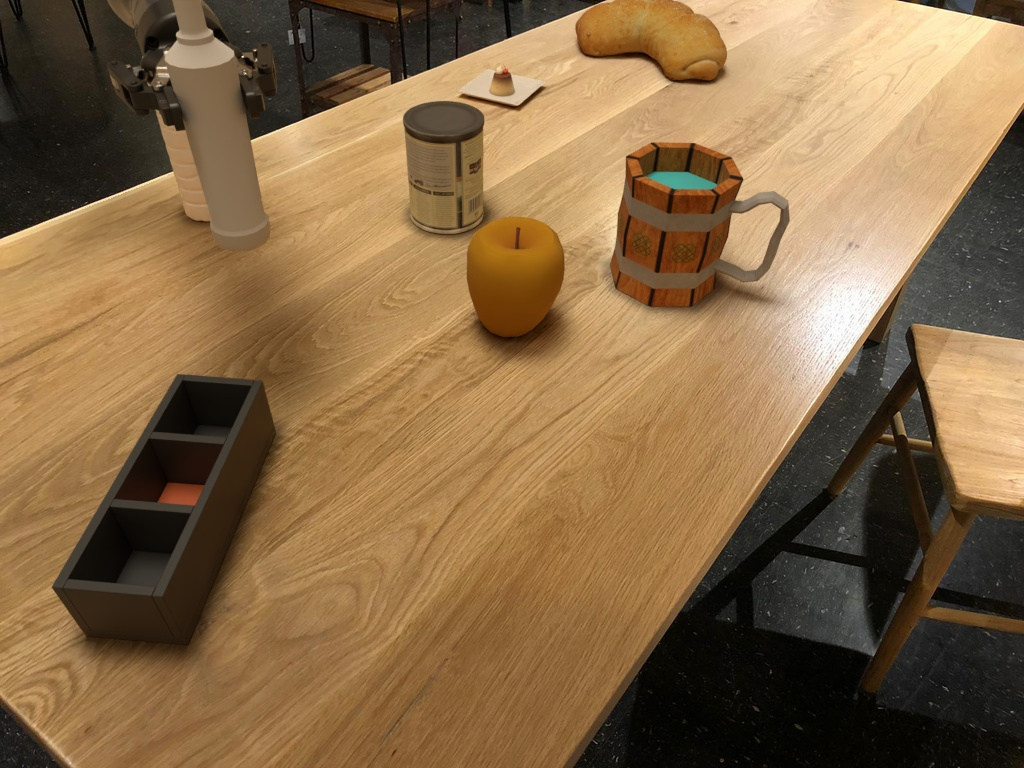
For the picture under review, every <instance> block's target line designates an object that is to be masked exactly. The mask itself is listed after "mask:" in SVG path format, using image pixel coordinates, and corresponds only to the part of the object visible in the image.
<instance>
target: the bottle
mask: <svg viewBox="0 0 1024 768" xmlns="http://www.w3.org/2000/svg"><path fill="white" fill-rule="evenodd" d="M172 1H173V5H174V9H175V13H176V17H177V21H178V25H179V31H178V32H177V33H176V37H177V41H176V42H175V43H174V45H173V46H172V47H171V49H170V50H169V51H168V52H167V54H166V55H165V63H166V66H167V70H168V73H169V77H170V80H171V83H172V87H173V90H174V94H175V96H176V99H177V101H178V104H179V107H180V111H181V115H182V118H183V122H184V126H185V131H186V134H187V138H188V141H189V145H190V148H191V152H192V155H193V158H194V162H195V165H196V169H197V172H198V175H199V179H200V182H201V186H202V189H203V192H204V196H205V199H206V203H207V206H208V209H209V213H210V216H211V221H209V225H210V226H209V228H210V232H211V235H212V237H213V239H214V241H215V242H216V244H217V245H218V246H219V247H220V248H221V249H223V250H225V251H228V252H235V253H242V252H250V251H252V250H256V249H259V248H260V247H262V246H264V245H265V244H266V243H267V242H268V241H269V239H270V237H271V224H270V218H269V214H268V213H267V212H266V211H265V208H264V203H263V198H262V193H261V189H260V182H259V177H258V171H257V167H256V160H255V155H254V151H253V144H252V140H251V134H250V129H249V125H248V124H249V123H248V119H247V112H246V109H245V107H244V102H243V97H242V91H241V86H240V81H239V75H238V70H237V65H236V59H235V54H234V51H233V50H232V49H231V48H229V47H228V46H227V45H225V44H224V43H222V42H221V41H219V40H218V39H216V38H215V37H214V35H213V31H212V30H211V29H208V28H207V26H206V21H205V17H204V13H203V8H202V4H201V0H172Z"/></svg>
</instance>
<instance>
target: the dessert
mask: <svg viewBox="0 0 1024 768" xmlns="http://www.w3.org/2000/svg"><path fill="white" fill-rule="evenodd" d="M502 65H503V66H504V68H503V67H502ZM502 65H498V66H497V67H496V68H495V69H491V68H486V69H484V70H483V71H481V73H479V74H478V75H476V76H475V77H474V78H473V79H471V80H469V81H468V82H467V83H465V84H464V85H463V86H462V87H460V88H459V89H458V90H457V91H456V92H457V93H459V94H462V95H464V96H467V97H471V98H475V99H480V100H483V101H488V102H493V103H497V104H501V105H506V106H511V107H518V106H520V105H521V104H522V103H523V102H524V101H525V100H527V99H528V98H529V97H530V96H532V94H534V93H535V92H536V91H537V90H538V89H539V88H541V87H542V86H543V85H544V84H545V83H546V82H547V81H546V80H542V79H537V78H533V77H528V76H524V75H519V74H514V73H511V72H510V71H509V69H508V68H506V67H505V64H504V63H503V64H502Z"/></svg>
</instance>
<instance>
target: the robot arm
mask: <svg viewBox="0 0 1024 768" xmlns="http://www.w3.org/2000/svg"><path fill="white" fill-rule="evenodd" d="M106 1H107V3H108V5H109V7H110V8H111V10H112V11H113V13H114V14H115V15H116V16H117V17H118V18H119V19H120V20H121V21H122V23H123V24H125V25H126V26H127V27H129V28H130V29H131V30H133V31H134V37H135V39H136V41H137V43H138V46H139V50H140V52H141V55H142V57H143V58H142V57H141V60H140V62H139V65H136V66H132V64H125V63H124V62H122V61H121V60H110V61H108V62H107V63H106V67H107V72H108V74H109V77H110V80H111V83H112V86H113V89H114V92H115V94H116V96H117V97H118V98H120V100H121V101H122V102H123V103H124V105H126V106H127V107H128V108H129V109H130V110H131V111H132V113H134V114H135V115H136V116H139V117H142V116H143V117H144V116H148V115H150V114H151V113H152V110H154V111H155V110H158V111H159V114H161V116H162V119H163V122H164V124H165V125H166V126H175V129H176V131H182V130H185V126H184V122H183V118H182V115H181V111H180V107H179V104H178V101H177V99H176V96H175V94H174V90H173V87H172V83H171V80H170V77H169V73H168V70H167V66H166V63H165V55H166V54H167V52H168V51H169V50H170V49H171V47H172V46H173V45H174V43H175V42H176V41H177V37H176V33H177V32H178V31H179V25H178V21H177V17H176V13H175V9H174V5H173V1H172V0H106ZM201 4H202V8H203V13H204V17H205V21H206V26H207V28H208V29H211V30H212V31H213V35H214V37H215V38H216V39H218V40H219V41H221V42H222V43H224V44H225V45H227V46H228V47H229V48H231V49H232V50H233V51H234V54H235V59H236V65H237V70H238V75H239V81H240V86H241V91H242V97H243V102H244V107H245V112H246V114H248V117H249V119H250V120H256V119H261V114H260V113H265V111H266V103H265V99H264V97H268V98H269V97H271V98H272V97H275V96H277V94H278V83H277V82H278V81H277V68H276V62H275V57H274V51H273V47H272V46H273V45H272V43H270V42H266V41H262V42H259V43H257V45H256V48H252V49H251V51H249V52H243V51H242V50H241V48H240V47H238V46H236V45H233V44H232V42H231V41H230V39H229V37H228V36H227V34H226V32H225V30H224V29H223V27H222V24H221V21H220V19H219V17H218V16H217V15H216V14H215V13H214V12H213V10H212V9H211V7H210V6H209V5H208V4H207V3H206V1H205V0H201ZM143 82H146V83H148V84H150V85H151V86H148V84H147V85H144V84H143Z"/></svg>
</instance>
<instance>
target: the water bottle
mask: <svg viewBox="0 0 1024 768" xmlns="http://www.w3.org/2000/svg"><path fill="white" fill-rule="evenodd" d="M142 58H143V56H142V57H141V59H142ZM146 83H147V82H146ZM147 86H151V85H150V84H148V83H147ZM154 111H155V114H156V117H157V121H158V124H159V128H160V131H161V132H160V133H161V135H162V138H163V141H164V143H165V149H166V152H167V156H168V157H169V162H170V165H171V168H172V172H173V175H174V178H175V179H174V180H175V182H176V183H177V189H178V193H179V195H180V197H181V204H182V206H183V210H184V213H185V214H186V216H187V217H188V218H190V219H191V220H193V221H196V222H201V221H202V222H210V221H211V216H210V213H209V209H208V206H207V203H206V199H205V196H204V192H203V189H202V186H201V182H200V179H199V175H198V172H197V169H196V165H195V162H194V158H193V155H192V152H191V148H190V145H189V141H188V138H187V134H186V131H185V130H182V131H176V129H175V126H166V125H165V124H164V122H163V119H162V116H161V114H159V111H158V110H154Z"/></svg>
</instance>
